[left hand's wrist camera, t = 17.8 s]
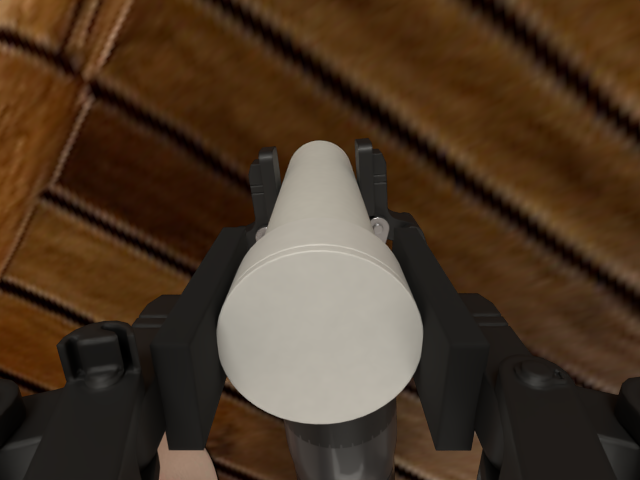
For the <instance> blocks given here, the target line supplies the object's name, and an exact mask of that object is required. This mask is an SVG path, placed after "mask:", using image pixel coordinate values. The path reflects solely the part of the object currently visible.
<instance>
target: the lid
mask: <svg viewBox="0 0 640 480" xmlns="http://www.w3.org/2000/svg"><path fill="white" fill-rule="evenodd" d="M216 335H217V345H218V353H219V359H220V362H221V365H222V367H223V369H224V371H225V373H226V375H227V377H228V378H229V380H230V381H231V383H232V384H233V385H234V387H235V388H236V389H237V390H238V391H239V392H240V393H241V394H242V395H243V396H244V397H245V398H246V399H247V400H249V401H250V402H251V403H253V404H254V405H256V406H257V407H259V408H260V409H262V410H264V411H266V412H268V413H270V414H272V415H275V416H277V417H280V418H283V419H286V420H290V421H294V422H299V423H307V424H333V423H341V422H345V421H350V420H354V419H357V418H360V417H363V416H365V415H367V414H370V413H372V412H374V411H376V410H378V409H379V408H381V407H383V406H384V405H386V404H387V403H388V402H390V401H391V400H392V399H394V398H395V397H396V396H397V395H398V394H399V393H400V392H401V391H402V390H403V389H404V387H405V386H406V385H407V384H408V382H409V381H410V380H411V378H412V376H413V374H414V373H415V371H416V369H417V366H418V364H419V361H420V358H421V351H422V342H423V324H422V320H421V315H420V312H419V310H418V307H417V305H416V303H415V300H414V298H413V295H412V293H411V291H410V288H409V286H408V283H407V281H406V279H405V276H404V274H403V272H402V269H401V267H400V264H399V262H398V261H397V259H396V257H395V256H394V254H393V253H392V251H391V250H390V249H389V248H388V246H387V245H386V244H385V243H384V242H383V241H381V240H380V239H379V238H378V237H377V236H375V235H374V234H373V233H371V232H370V231H368V230H366V229H364V228H362V227H360V226H358V225H356V224H353V223H350V222H347V221H343V220H339V219H333V218H307V219H300V220H297V221H293V222H289V223H287V224H284V225H282V226H279V227H277V228H275V229H274V230H272V231H270V232H269V233H267V234H266V235H264V236H263V237H262V238H261V239H259V240H258V241H257V242H256V243H255V244H254V245H253V246H252V247H251V248H250V250H249V251H248V252H247V254H246V255H245V257H244V258H243V260H242V262H241V264H240V266H239V268H238V271H237V273H236V275H235V278H234V280H233V283H232V285H231V287H230V290H229V292H228V294H227V297H226V299H225V302H224V304H223V306H222V309H221V312H220V315H219V318H218V323H217V329H216Z"/></svg>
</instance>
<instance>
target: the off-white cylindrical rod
mask: <svg viewBox="0 0 640 480" xmlns="http://www.w3.org/2000/svg"><path fill="white" fill-rule="evenodd" d="M307 218H333V219H339V220H343V221H347V222H350V223H353V224H356V225H358V226H360V227H362V228H364V229H366V230H368V231H370V232H371V233H373V234H374V235H375V233H374V231H373V228H372V225H371V222H370V219H369V216H368V213H367V210H366V207H365V204H364V201H363V199H362V196H361V193H360V190H359V187H358V184H357V181H356V178H355V175H354V172H353V169H352V167H351V164H350V161H349V159H348V157H347V155H346V154H345V152H344V151H343V150H342V149H341V148H340V147H338V146H337V145H335V144H333V143H331V142H327V141H313V142H309V143H307V144H305V145H303V146H302V147H300V148H299V149H298V150H297V151H296V152H295V153H294V155H293V156H292V158H291V161H290V163H289V166H288V169H287V172H286V175H285V178H284V181H283V183H282V186H281V189H280V192H279V195H278V198H277V201H276V204H275V207H274V210H273V212H272V215H271V218H270V221H269V224H268V227H267V230H266V233H265V235H266V234H267V233H269V232H270V231H272V230H274V229H275V228H277V227H279V226H282V225H284V224H287V223H289V222H293V221H297V220H300V219H307Z"/></svg>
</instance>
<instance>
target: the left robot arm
mask: <svg viewBox="0 0 640 480" xmlns="http://www.w3.org/2000/svg"><path fill="white" fill-rule="evenodd" d="M247 252H248V251H247V237H246V228H223V229H222V231H221V232H220V234H219V236H218V237H217V239H216V240H215V242H214V243H213V245H212V247H211V248H210V250H209V251H208V253H207V255H206V256H205V258H204V259H203V261H202V262H201V264H200V266H199V267H198V269H197V270H196V272H195V274H194V275H193V277H192V278H191V280H190V282H189V283H188V285H187V286H186V288H185V289H184V291H183V293H182V294H181V295H161V296H160V297H158V298H157V299H155V300H154V301H152V302H150V303H149V304H147V306H146V307H145V308H144V310H143V311H142V312H141V314H140V315H139V318H137V319H136V320H135V322H134V323H133V324H132V326H130V325H129V324H128V323H125V322H120V321H102V322H98V323H93V324H89V325H86V326H84V327H81V328H79V329H76V330H74V331H73V332H71V333H70V334H68V335H66V336H65V337H64V338H63V339H62V340H61V341H60V342H59V343H58V344H57V345H56V346H57V349H58V353H59V356H60V360H61V363H62V367H63V371H64V374H65V378H66V381H67V382H66V385H65V387H64V388H60V389H57V390H52V391H48V392H43V393H38V394H34V395H29V396H24V397H22V396H21V393H20V390H19V387H18V385H17V384H16V383H14V382H13V381H12V380H6V379H0V480H159V475H160V461H159V455H158V450H157V449H158V447H159V445H160V442H161V440H162V438H163V435H164V433H166V438H167V444H168V449H169V450H204V448H205V445H206V442H207V438H208V435H209V432H210V429H211V426H212V422H213V419H214V416H215V413H216V409H217V406H218V403H219V400H220V396H221V393H222V390H223V387H224V383H225V380H226V377H227V375H226V373H225V371H224V369H223V367H222V365H221V362H220V359H219V353H218V345H217V335H216V329H217V323H218V318H219V315H220V312H221V309H222V306H223V304H224V302H225V299H226V297H227V294H228V292H229V290H230V287H231V285H232V283H233V280H234V278H235V275H236V273H237V271H238V268H239V266H240V264H241V262H242V260H243V258H244V257H245V255H246V254H247ZM392 253H393V254H394V256H395V257H396V259H397V261H398V262H399V264H400V267H401V269H402V272H403V274H404V276H405V279H406V281H407V283H408V286H409V288H410V291H411V293H412V295H413V298H414V300H415V303H416V305H417V307H418V310H419V312H420V315H421V320H422V324H423V342H422V351H421V358H420V361H419V364H418V366H417V369H416V371H415V373H414V374H413V378H414V381H415V384H416V387H417V391H418V394H419V397H420V400H421V404H422V407H423V410H424V413H425V417H426V420H427V423H428V426H429V430H430V433H431V436H432V439H433V443H434V446H435V449H436V450H471V448H472V442H473V437H474V431H475V432H476V434H477V436H478V439H479V441H480V443H481V445H482V448H483V450H482V455H481V460H480V465H479V470H478V475H477V480H640V377H635V378H629V379H627V380H626V381H625V382H624V383H622V386H621V389H620V392H619V395H615V394H610V393H606V392H601V391H596V390H591V389H587V388H583V387H579V386H575V384H574V382H573V380H572V379H571V377H570V376H569V375H568V373H567V372H566V371H564V370H563V369H562V368H560V367H559V366H557V365H556V364H554V363H552V362H550V361H548V360H545V359H543V358H540V357H536V356H532V355H531V353H530V352H529V351H528V349H527V348H526V347H525V345H524V344H523V343H522V341H521V340H520V339H519V338H518V336H517V335H516V334H515V332H514V331H513V330H512V328H511V327H510V326H508V323H507V322H506V320H505V319H504V318H503V317H501V314H500V312H499V311H498V310H497V308H496V307H495V306H494V304H493V303H492V302H490V301H489V300H487V299H485V298H484V297H482V296H481V295H479V294H478V293H457V291H456V290H455V288H454V287H453V285H452V284H451V282H450V280H449V279H448V277H447V276H446V274H445V272H444V271H443V269H442V268H441V266H440V264H439V263H438V261H437V260H436V258H435V257H434V255H433V253H432V252H431V250H430V249H429V247H428V245H427V244H426V242H425V241H424V239H423V238H422V236H421V234H420V233H419V231H418V230H417V228H394V233H393V247H392Z"/></svg>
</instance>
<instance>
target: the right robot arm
mask: <svg viewBox="0 0 640 480" xmlns="http://www.w3.org/2000/svg"><path fill="white" fill-rule="evenodd" d="M355 154H356V171H357V184H358V187H359V190H360V193H361V196H362V199H363V201H364V204H365V207H366V210H367V213H368V216H369V219H370V222H371V225H372V228H373V231H374V233H375V236H377V237H378V238H379V239H380V240H381V241H383V242H384V243H386V240H387V239H389V240H393V233H394V228H417V230H418V231H419V233H420V234H421V236H422V238H423V239H424V241H425V242H426V240H425V237H424V234H423V232H422V230H421V229H420V227H419V225H418V224H417V222H416V221H415V219H414V218H413V216H412V215H411V214H409V213H406V212H403V213H397V212H393V211H391V210H389V209H388V208H387V182H386V181H387V178H386V162H385V160H384V157H383V155H382V153H381V152H380V151H379V149H372V143H371V141H370V140H369V139H368V138H365V139H355ZM249 181H250V188H251V193H252V200H253V206H254V213H255V222H253V223H252V224H249V225H247V226H239V227H237V228H246V237H247V251H249V250H250V248H251V247H252V246H253V245H254V244H255V243H256V242H257V241H258V240H259V239H261V238H262V237H263V236H264V235H265V233H266V230H267V227H268V224H269V221H270V218H271V215H272V212H273V210H274V207H275V204H276V201H277V198H278V195H279V192H280V189H281V179H280V171H279V164H278V156H277V150H276V147H264V148H262V149H261V150H260V151H259V159H256V160H254V162H253V163H252V164H251V167H250V171H249ZM426 244H427V243H426ZM284 425H285V431H286V437H287V442H288V446H289V450H290V453H291V456H292V459H293V461H294V464H295V468H296V475H297V480H395V471H394V452H395V446H396V439H397V417H396V397H395V398H394V399H392V400H391V401H390V402H388V403H387V404H386V405H384V406H383V407H381V408H379V409H378V410H376V411H374V412H372V413H370V414H367V415H365V416H363V417H360V418H357V419H354V420H350V421H345V422H341V423H333V424H307V423H299V422H294V421H290V420H286V419H284Z"/></svg>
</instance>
